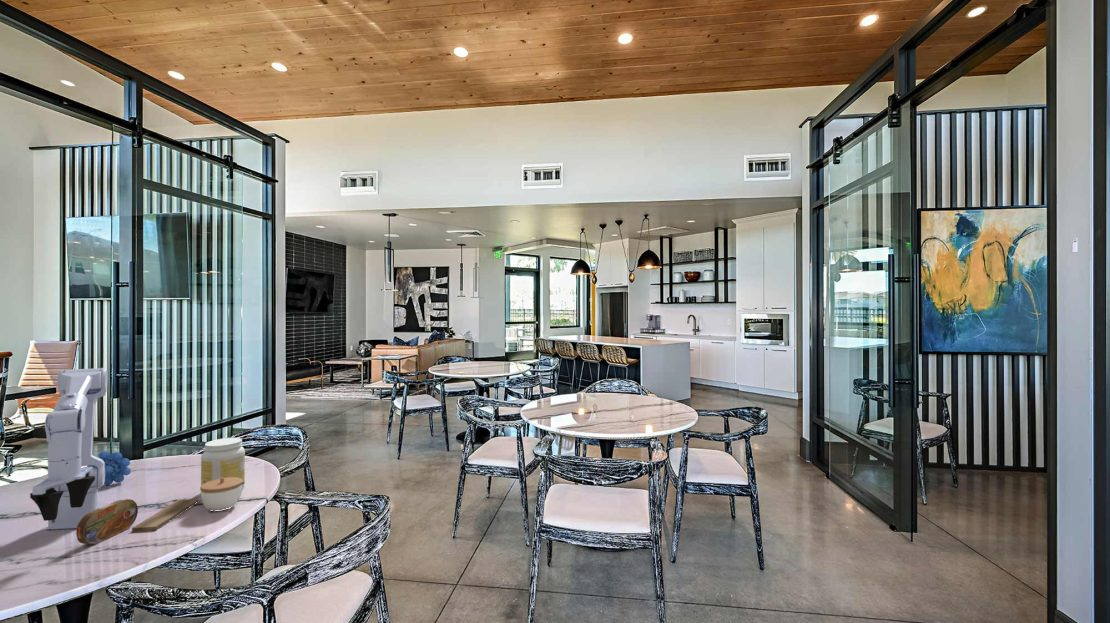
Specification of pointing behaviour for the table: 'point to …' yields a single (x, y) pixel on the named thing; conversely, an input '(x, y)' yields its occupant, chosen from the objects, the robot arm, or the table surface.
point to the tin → (106, 521)
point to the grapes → (114, 467)
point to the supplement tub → (223, 460)
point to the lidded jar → (221, 493)
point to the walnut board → (164, 515)
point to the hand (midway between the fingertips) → (63, 513)
